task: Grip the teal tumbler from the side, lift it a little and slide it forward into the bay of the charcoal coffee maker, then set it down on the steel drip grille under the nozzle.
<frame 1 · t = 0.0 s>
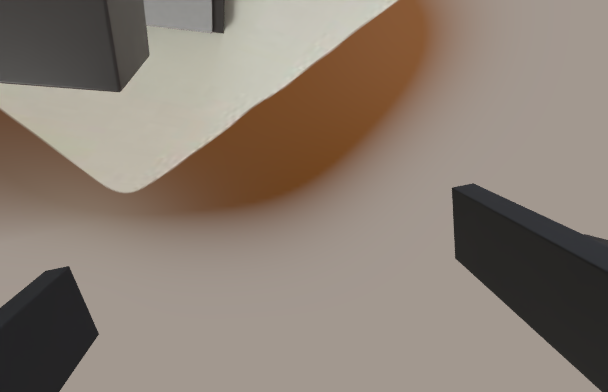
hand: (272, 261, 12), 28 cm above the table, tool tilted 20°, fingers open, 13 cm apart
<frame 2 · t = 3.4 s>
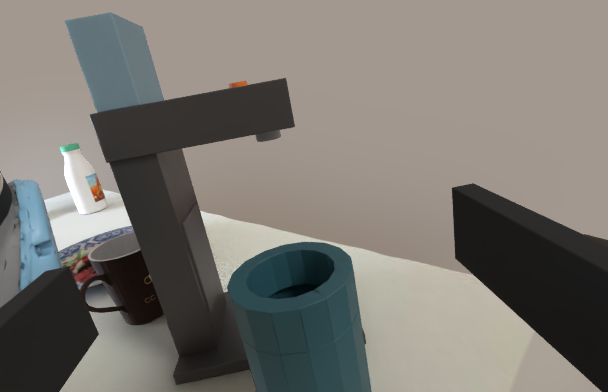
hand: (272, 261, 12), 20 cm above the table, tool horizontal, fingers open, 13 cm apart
coffee maker: (305, 314, 41), on the table
milk bottle: (94, 210, 104), on the table
coffee mug: (139, 316, 47), on the table
ceramic plate: (110, 263, 65), on the table
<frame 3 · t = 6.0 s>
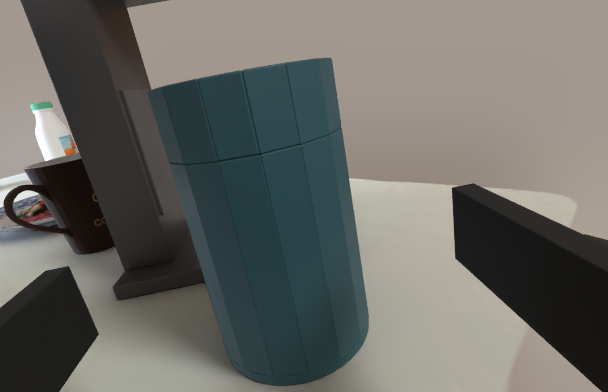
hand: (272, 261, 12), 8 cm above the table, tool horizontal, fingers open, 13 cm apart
coffee maker: (285, 231, 34), on the table
milk bottle: (70, 176, 97), on the table
coffee mug: (92, 247, 39), on the table
teal tumbler: (297, 326, 20), on the table
ceramic plate: (73, 210, 58), on the table
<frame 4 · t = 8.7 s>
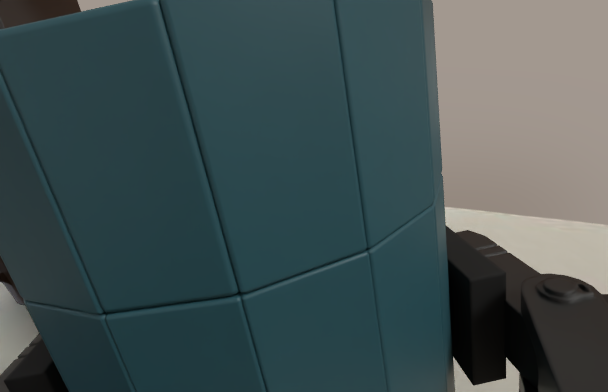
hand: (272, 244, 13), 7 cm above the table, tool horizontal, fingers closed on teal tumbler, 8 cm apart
coffee maker: (292, 283, 24), on the table
coffee mug: (41, 293, 30), on the table
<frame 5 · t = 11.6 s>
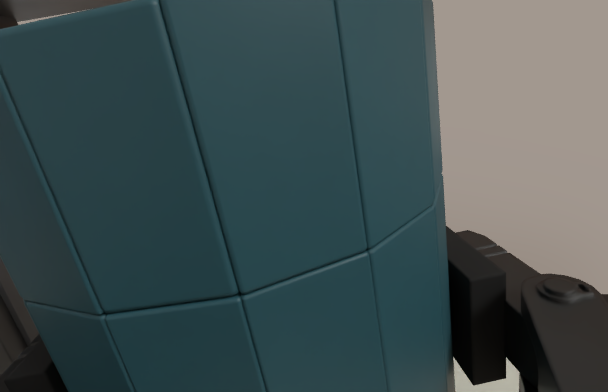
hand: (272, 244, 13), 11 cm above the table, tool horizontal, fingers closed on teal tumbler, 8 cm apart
when the fingers open (9 cm above the table, at t = 14.7 s): teal tumbler stays where it is, resting on coffee maker.
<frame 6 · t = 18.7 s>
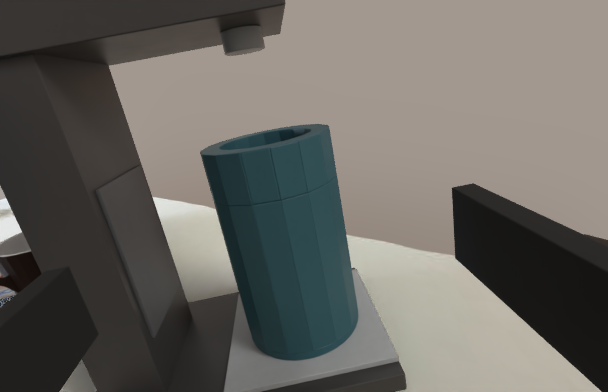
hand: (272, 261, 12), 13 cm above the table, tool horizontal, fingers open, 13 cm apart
coffee maker: (307, 336, 27), on the table
coffee mug: (73, 336, 33), on the table
teal tumbler: (304, 319, 26), point 2 cm above the table, touching coffee maker
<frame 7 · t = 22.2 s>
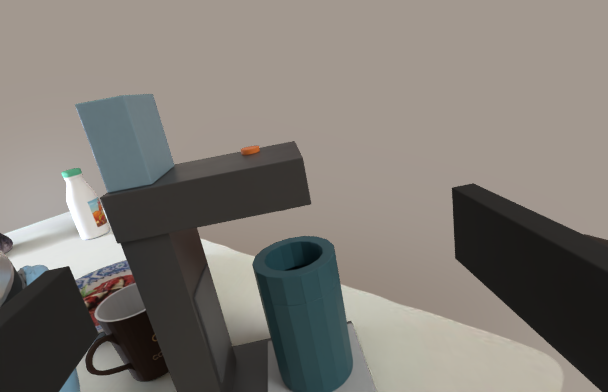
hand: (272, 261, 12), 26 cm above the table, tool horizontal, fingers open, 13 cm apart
coffee maker: (318, 375, 40), on the table
milk bottle: (96, 235, 103), on the table
coffee mug: (147, 370, 46), on the table
teal tumbler: (316, 364, 39), point 2 cm above the table, touching coffee maker
ceramic plate: (114, 301, 64), on the table
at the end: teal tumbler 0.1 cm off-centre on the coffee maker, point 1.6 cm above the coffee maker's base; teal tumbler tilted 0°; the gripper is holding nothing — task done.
